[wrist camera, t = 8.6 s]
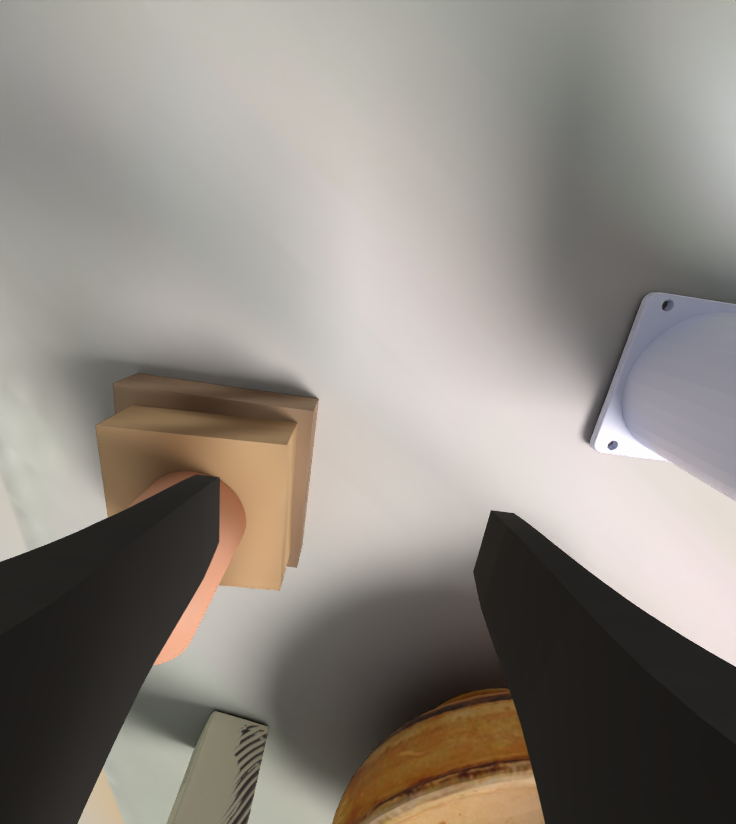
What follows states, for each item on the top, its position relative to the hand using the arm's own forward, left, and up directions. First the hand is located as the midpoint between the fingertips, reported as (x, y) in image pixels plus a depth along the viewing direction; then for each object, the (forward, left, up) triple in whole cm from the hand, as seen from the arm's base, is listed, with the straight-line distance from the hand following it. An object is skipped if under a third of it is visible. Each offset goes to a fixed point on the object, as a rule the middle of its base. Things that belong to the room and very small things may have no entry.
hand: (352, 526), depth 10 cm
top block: (+6, +4, -8) cm, 11 cm away
